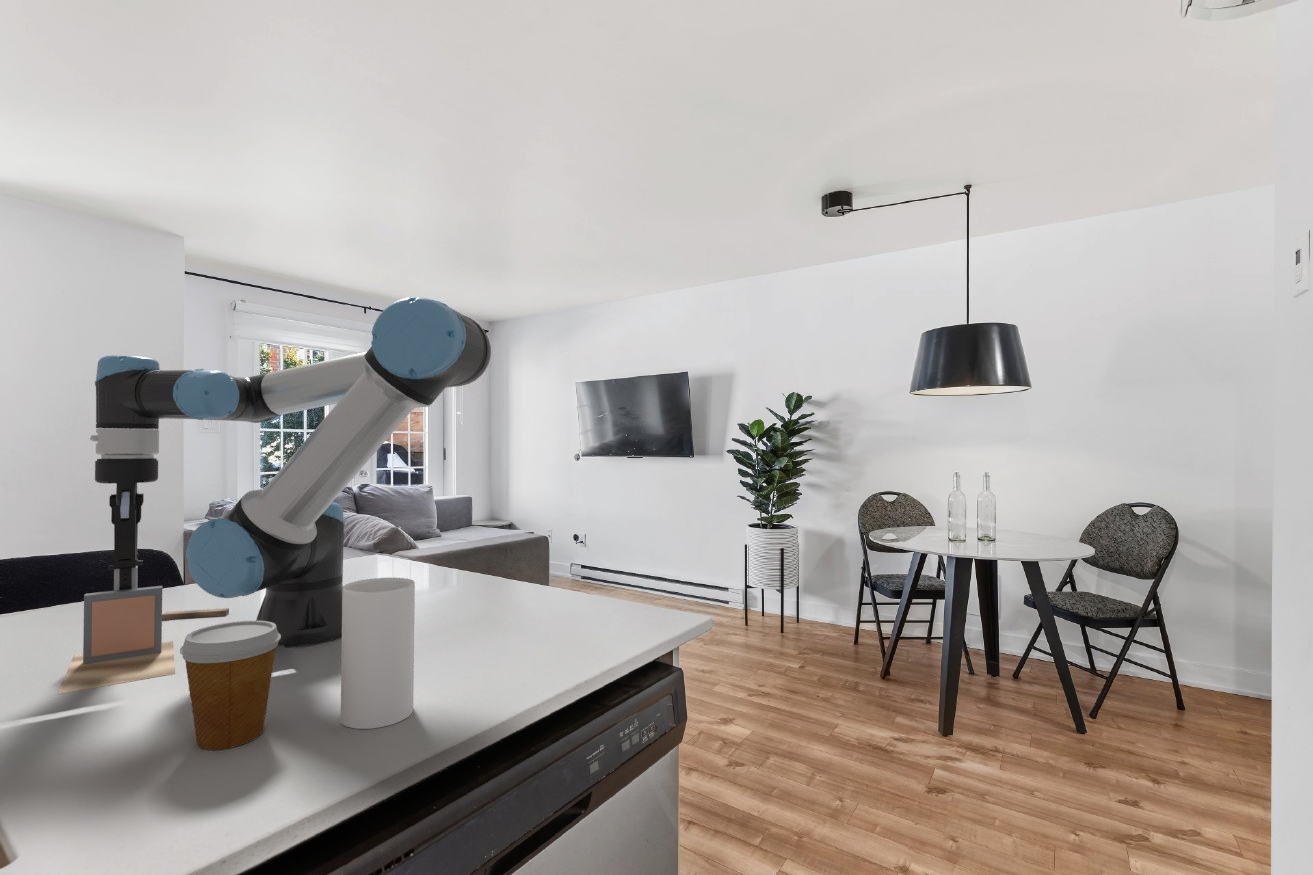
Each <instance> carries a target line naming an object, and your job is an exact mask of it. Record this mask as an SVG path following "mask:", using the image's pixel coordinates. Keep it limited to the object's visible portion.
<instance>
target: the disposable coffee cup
mask: <svg viewBox="0 0 1313 875" xmlns="http://www.w3.org/2000/svg"><path fill="white" fill-rule="evenodd" d="M280 639H281V635H280V634H279V633H278V631H277V627H276V624H274V623H272V622H268V621H256V620H240V621H239V620H238V621H231V622H224V623H219V624H215V625H208V626H206V627H205V626H204V627H202V628H198V629H196V630H193V631H192V632H190V633H188V634H187V635H186V636H185V638H184V642H183V645H181V647H180V648H179V653H180V655H182V658H183V660H184V662H185V668H186V675H187V682H188V683H187V684H188V691H189V696H190V697H189V698H190V704H191V710H192V711H191V712H192V719H193V725H194V731H195V732H194V734H195V741H196V745H197V747H198V748H200V749H201V750H210V751H211V750H212V751H213V750H214V751H216V750H225V749H226V750H227V749H230V748H235V747H238V746H242V745H244V744H247V743H249V742H252V741H254V740H255V739H257V738H259V737H260V736H261V735H262V734H263V733H264V729H265V728H264V727H265V720H266V714H267V708H268V701H269V697H270V696H269V694H270V688H271V681H272V675H273V669H274V662H275V655H276V648H277V646H279V645H278V641H279V640H280Z"/></svg>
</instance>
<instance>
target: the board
mask: <svg viewBox="0 0 1313 875" xmlns="http://www.w3.org/2000/svg"><path fill="white" fill-rule="evenodd" d="M174 653H175V651H174V641H173V640H172V641H171V640H169V641H164V642H163V641H162V646H161V653H155V654H148V655H142V656H136V657H129V658H123V659H116V660H110V661H103V662H97V663H91V664H84V665H83V653H82V654H77V655H76V654H75V655H73V656H72V659H71V661H70V664H69V666H68V669H67V671H66V673H65V676H64V679H63V682H62V684H61V686H60V690H59V692H58V695H61V694H67V693H74V692H78V691H79V692H80V691H85V690H90V689H96V688H102V687H109V686H114V685H120V684H126V683H132V682H137V681H143V680H149V679H155V678H161V677H166V676H172V675H176V667H175V665H176V664H175V654H174Z"/></svg>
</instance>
